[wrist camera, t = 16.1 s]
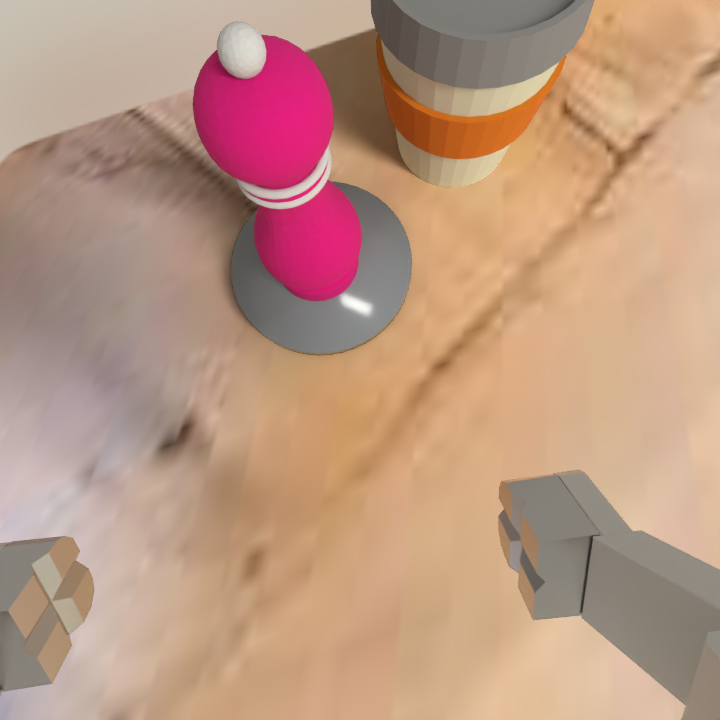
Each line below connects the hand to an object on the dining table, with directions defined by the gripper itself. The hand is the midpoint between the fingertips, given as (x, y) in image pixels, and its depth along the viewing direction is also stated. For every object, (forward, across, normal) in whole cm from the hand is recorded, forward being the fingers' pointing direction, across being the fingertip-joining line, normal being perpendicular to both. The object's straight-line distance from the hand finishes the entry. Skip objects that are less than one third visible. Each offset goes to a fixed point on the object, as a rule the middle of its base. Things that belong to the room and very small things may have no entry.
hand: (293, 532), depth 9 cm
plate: (+30, 0, +2) cm, 30 cm away
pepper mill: (+29, 0, +1) cm, 29 cm away
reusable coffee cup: (+36, -12, -6) cm, 38 cm away
